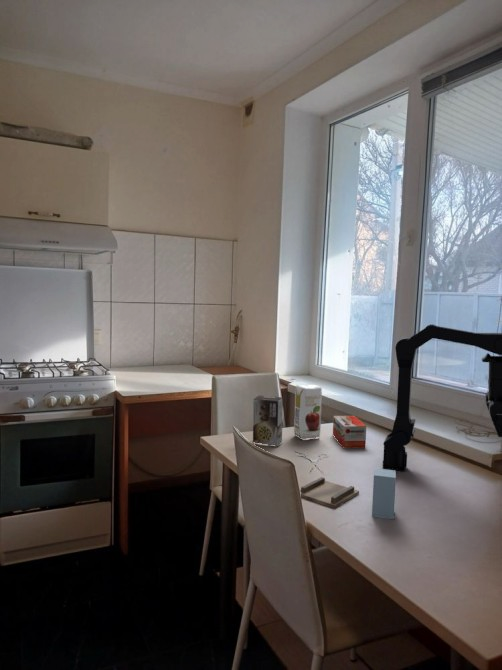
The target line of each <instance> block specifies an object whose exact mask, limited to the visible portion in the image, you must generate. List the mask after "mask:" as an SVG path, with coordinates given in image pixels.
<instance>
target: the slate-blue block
mask: <svg viewBox="0 0 502 670" xmlns="http://www.w3.org/2000/svg"><path fill="white" fill-rule="evenodd" d="M396 471H397V470H391V469H383V468H378V467H377V468H374V469H373V484H372V485H373V487H372V505H371V507H372V508H371V509H372V510H371V517H375V518H381V519H383V518H384V519H390V520H394V519H395V504H396V503H395V501H396V500H395V499H396V485H397V484H396V483H397V482H396V481H397V475H396Z"/></svg>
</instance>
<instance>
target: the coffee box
mask: <svg viewBox="0 0 502 670" xmlns="http://www.w3.org/2000/svg"><path fill="white" fill-rule="evenodd" d="M283 398H284V397H282V396H281V397H279V396H269V395H257V396H256V397H254V398H253V399H252V401H253V410H252V411H253V412H252V413H253V414H252V416H253V417H252V419H253V420H252V443H253V442H255V443H262V444H268V445H275V446H278V445H279V444H280V443H281V442H282V443H283V414H284V411H283V407H284V405H283V403H284V399H283ZM282 443H281V444H282ZM281 444H280V445H281ZM280 445H279V446H280ZM279 446H278V447H279Z"/></svg>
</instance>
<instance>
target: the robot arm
mask: <svg viewBox="0 0 502 670" xmlns="http://www.w3.org/2000/svg"><path fill="white" fill-rule="evenodd" d="M433 339H434V340H440V341H446V342H451V343H456V344H462V345H468V346H472V347H473V346H474V347H476V348H479V349H482V350H485V351H487V352H489V353H486V354H485V355H484V356H483V357H482V358H481V362H483V363H488V380H487V384H488V391H487V392H486V393H485V395H484V401H485V405H486V407H487V410H488V413H489V416H490V418H491V422H492V424H493V426H494V429H495V431H496V434H497V437H499V438H502V332H474V331H467V330H462V329H456V328H451V327H445V326H441V325H436V324H433V323H432V324H428V325H427V326H425V327H424V328H423V329H421V330H420V331H417V333H415V334H413V335H412V336H410V337H409V336H405V337H403V338H401V339H399V341H398V342H397V343H396V345H395V355H396V357H395V358H396V362H397V366H398V376H397V378H398V380H397V394H396V395H397V397H396V398H397V400H396V414H395V418H394V423H393V427H392V431H391V432H390V433H389V434H387V435H386V438H385V439H384V442H383V458H382V469H386V470H395V471H401V472H402V471H403V472H405V471H406V468H408V467H407V466H408V465H407V463H408V452H407V451H406V446H407V445H408V444H410V442H411V441H412V438H414V437H415V433H416V430H415V425H416V419H414V418H413V419H412V418H411V411H410V410H411V397H412V395H411V394H412V393H411V392H412V373H413V366H414V363H415V358H416V354H417V349H418V348H420V347H422V346H423V345H424V344H426V343H427V342H430V341H431V340H433ZM490 353H492V354H496V355H491V354H490Z"/></svg>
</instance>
